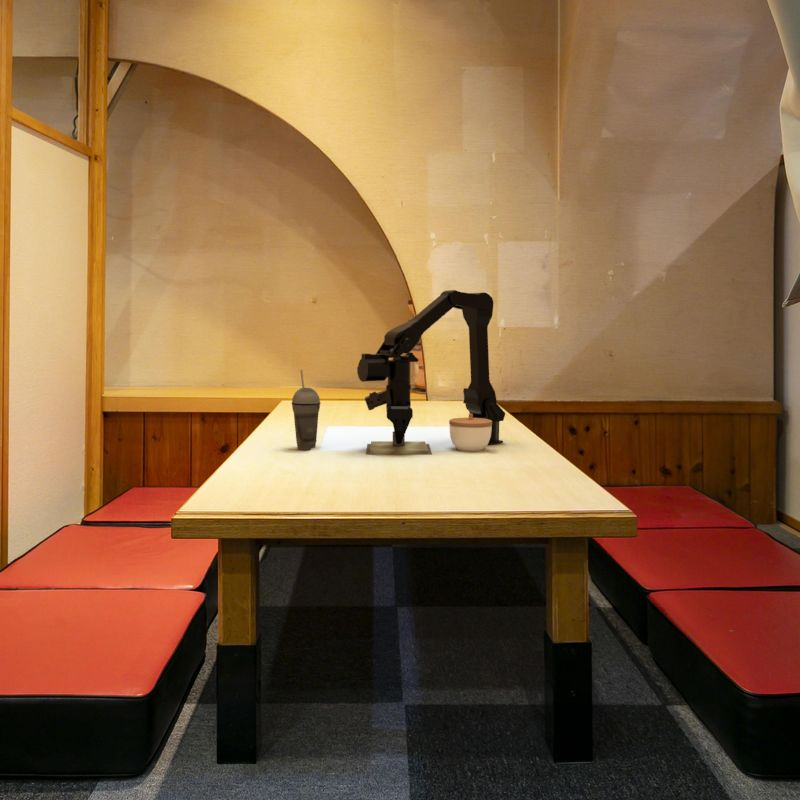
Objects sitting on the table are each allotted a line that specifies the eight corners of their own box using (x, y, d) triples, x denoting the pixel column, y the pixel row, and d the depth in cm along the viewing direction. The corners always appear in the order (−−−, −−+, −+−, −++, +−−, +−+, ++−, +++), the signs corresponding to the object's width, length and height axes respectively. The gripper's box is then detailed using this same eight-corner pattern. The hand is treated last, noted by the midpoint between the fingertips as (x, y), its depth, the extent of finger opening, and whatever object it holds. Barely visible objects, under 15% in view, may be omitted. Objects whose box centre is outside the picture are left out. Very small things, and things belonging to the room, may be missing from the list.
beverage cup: (315, 451, 189) (315, 371, 187) (287, 450, 190) (287, 370, 188) (324, 447, 196) (324, 369, 194) (297, 446, 197) (296, 368, 195)
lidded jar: (463, 455, 185) (464, 417, 184) (440, 449, 194) (441, 412, 193) (500, 452, 190) (500, 415, 189) (476, 446, 199) (476, 410, 198)
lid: (424, 444, 198) (425, 428, 198) (428, 453, 184) (428, 436, 184) (371, 444, 198) (371, 427, 198) (370, 453, 184) (370, 436, 184)
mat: (428, 445, 199) (428, 443, 199) (432, 456, 184) (432, 454, 184) (367, 445, 199) (367, 443, 199) (365, 456, 183) (365, 454, 183)
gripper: (367, 377, 199) (367, 436, 200) (365, 383, 180) (365, 448, 182) (410, 377, 199) (409, 437, 200) (412, 383, 180) (412, 448, 182)
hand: (398, 442), depth 191 cm, fingers closed on lid, 3 cm apart
